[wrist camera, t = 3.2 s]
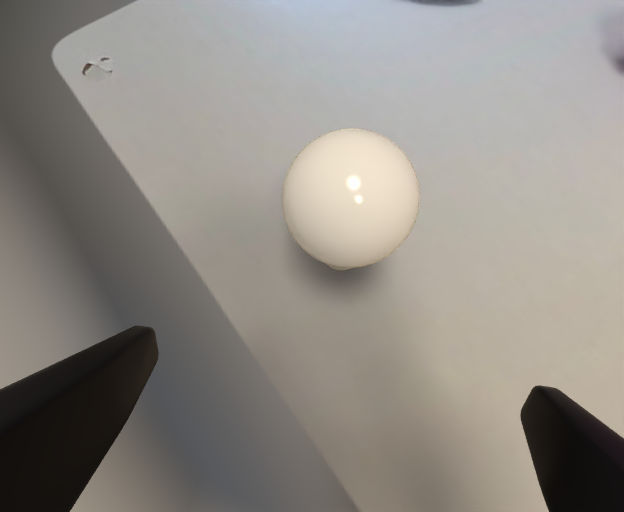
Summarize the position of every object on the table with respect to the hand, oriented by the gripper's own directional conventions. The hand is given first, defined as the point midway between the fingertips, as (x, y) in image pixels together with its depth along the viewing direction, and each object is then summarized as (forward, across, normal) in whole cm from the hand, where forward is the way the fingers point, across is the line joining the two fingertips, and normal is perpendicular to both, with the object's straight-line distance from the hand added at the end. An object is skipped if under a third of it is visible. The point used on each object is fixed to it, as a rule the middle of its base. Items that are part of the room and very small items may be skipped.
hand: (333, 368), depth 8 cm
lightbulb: (+15, 0, +4) cm, 15 cm away
